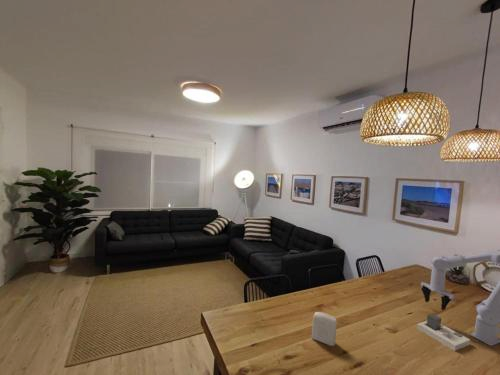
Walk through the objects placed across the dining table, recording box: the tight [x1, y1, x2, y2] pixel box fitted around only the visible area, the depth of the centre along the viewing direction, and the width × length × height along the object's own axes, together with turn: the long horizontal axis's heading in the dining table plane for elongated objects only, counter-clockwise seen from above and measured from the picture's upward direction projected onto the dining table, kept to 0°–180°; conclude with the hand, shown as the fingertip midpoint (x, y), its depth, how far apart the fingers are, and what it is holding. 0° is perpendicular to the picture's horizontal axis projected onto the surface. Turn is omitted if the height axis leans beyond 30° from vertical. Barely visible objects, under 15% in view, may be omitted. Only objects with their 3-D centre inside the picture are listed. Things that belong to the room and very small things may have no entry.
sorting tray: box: [416, 320, 471, 352], centre depth 114 cm, size 12×16×3 cm
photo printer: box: [311, 311, 338, 347], centre depth 105 cm, size 10×4×12 cm, turn 61°
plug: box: [426, 313, 442, 331], centre depth 117 cm, size 4×4×7 cm
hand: (434, 305), depth 123 cm, fingers open, 7 cm apart
